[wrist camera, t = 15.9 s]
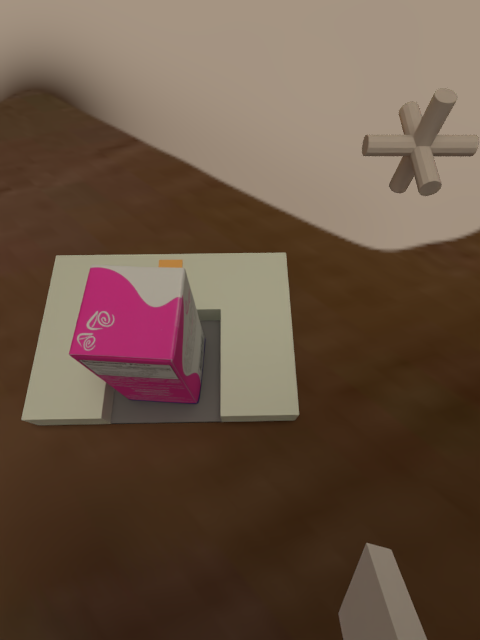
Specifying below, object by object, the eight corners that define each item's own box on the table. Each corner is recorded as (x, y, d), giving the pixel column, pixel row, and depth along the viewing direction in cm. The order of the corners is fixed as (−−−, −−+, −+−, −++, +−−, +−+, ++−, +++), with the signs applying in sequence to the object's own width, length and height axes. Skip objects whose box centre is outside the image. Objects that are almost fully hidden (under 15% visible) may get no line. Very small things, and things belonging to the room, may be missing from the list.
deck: (294, 420, 30) (299, 414, 27) (38, 425, 29) (19, 419, 27) (282, 267, 35) (286, 251, 33) (68, 270, 35) (55, 254, 33)
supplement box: (137, 333, 32) (89, 259, 22) (206, 337, 32) (191, 264, 22) (125, 401, 30) (64, 354, 19) (199, 406, 30) (179, 361, 19)
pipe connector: (344, 151, 42) (374, 56, 32) (435, 151, 42) (490, 56, 33) (356, 225, 38) (394, 139, 28) (456, 225, 38) (526, 140, 28)
